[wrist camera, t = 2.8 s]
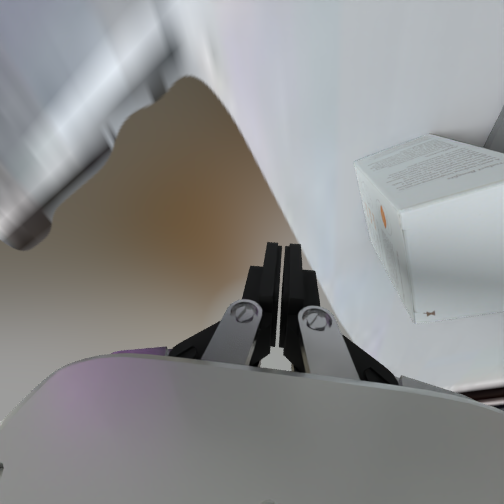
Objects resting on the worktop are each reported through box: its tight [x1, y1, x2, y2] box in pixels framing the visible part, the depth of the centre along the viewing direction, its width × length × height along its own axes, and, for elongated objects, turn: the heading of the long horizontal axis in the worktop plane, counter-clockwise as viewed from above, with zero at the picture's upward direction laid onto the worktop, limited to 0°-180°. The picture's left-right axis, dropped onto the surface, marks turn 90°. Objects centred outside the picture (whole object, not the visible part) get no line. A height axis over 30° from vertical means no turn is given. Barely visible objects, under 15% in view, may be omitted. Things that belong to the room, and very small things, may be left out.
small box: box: [353, 134, 504, 324], centre depth 16 cm, size 8×6×10 cm
